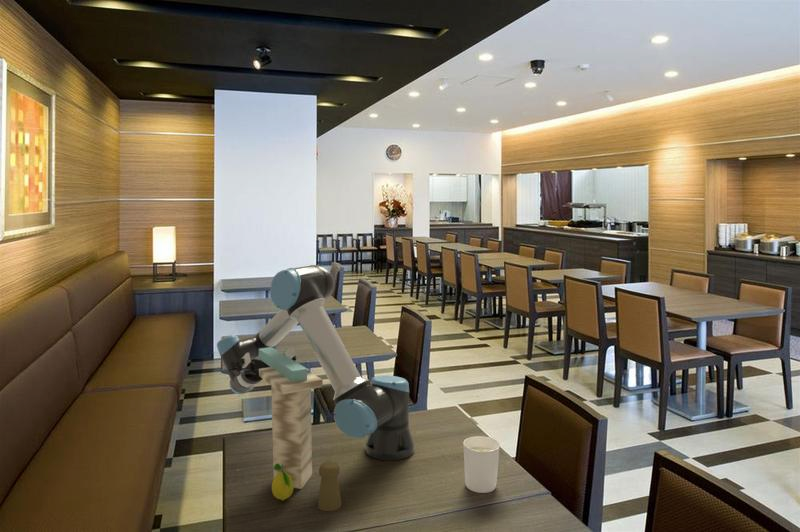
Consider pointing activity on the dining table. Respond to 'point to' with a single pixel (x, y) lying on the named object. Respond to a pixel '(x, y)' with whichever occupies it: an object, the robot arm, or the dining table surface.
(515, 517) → the dining table surface
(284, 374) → the bar
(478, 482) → the candle holder
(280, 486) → the lemon
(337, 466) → the cork
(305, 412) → the stand
